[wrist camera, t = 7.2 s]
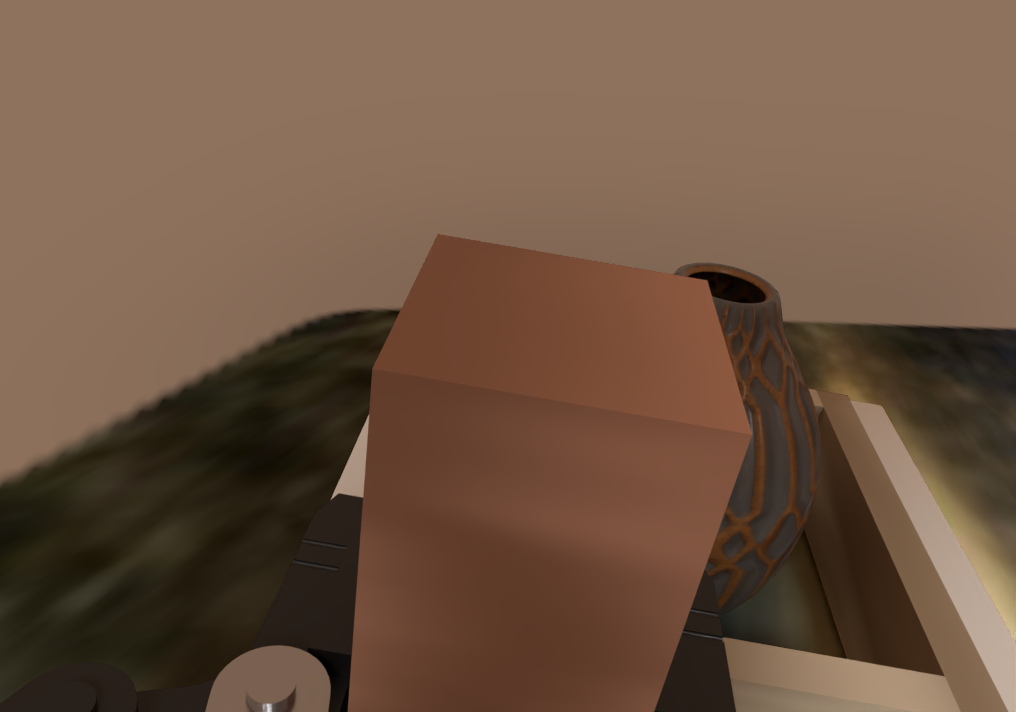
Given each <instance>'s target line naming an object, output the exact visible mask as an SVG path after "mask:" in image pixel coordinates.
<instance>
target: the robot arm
mask: <svg viewBox="0 0 1016 712" xmlns="http://www.w3.org/2000/svg"><path fill="white" fill-rule="evenodd" d="M362 507H363V497H357V496H352V495H346V494H340V493H338V494H337V495H336V496H335V497H334V498H332V499H331V500H330V501H329V502H328V503H326V504H325V505H324V506H323V507H321V508H320V509H319V510H318V511H317V512H315V514H314V516H313V518H312V520H311V523H310V525H309V527H308V529H307V531H306V533H305V536H304V538H303V542H302V543H301V544H300V546H299V548H298V551H297V553H296V555H295V557H294V560H293V564H291V566H290V568H289V570H288V572H287V574H286V576H285V578H284V581H283V583H282V585H281V587H280V589H279V591H278V594H277V596H276V598H275V600H274V602H273V604H272V606H271V609H270V611H269V613H268V615H267V617H266V619H265V621H264V624H263V626H262V628H261V630H260V632H259V634H258V636H257V639H256V641H255V643H254V644H253V646H252V648H251V650H250V651H249V652H247V653H244V654H242V655H240V656H239V657H237V658H236V659H234V660H233V661H232V662H230V663H229V664H228V665H227V666H226V667H225V668H224V669H223V670H222V671H221V672H220V674H219V675H218V677H216V678H214V679H211V680H209V681H206V682H203V683H199V684H196V685H191V686H185V687H178V688H169V689H160V690H150V691H141V692H136V690H135V687H134V684H133V683H132V681H131V680H130V678H129V677H128V676H127V675H126V674H125V673H123V672H122V671H120V670H119V669H117V668H115V667H112V666H109V665H106V664H101V663H76V664H71V665H67V666H62V667H59V668H57V669H54V670H51V671H49V672H47V673H45V674H43V675H41V676H39V677H37V678H36V679H34V680H33V681H31V682H30V683H28V684H27V685H25V686H24V687H23V688H21V689H20V690H19V691H17V692H16V693H14V694H13V695H12V696H10V697H9V698H8V699H6V700H5V701H3V702H2V703H1V704H0V712H348V701H349V687H350V673H351V659H352V645H353V632H354V618H355V604H356V590H357V576H358V563H359V549H360V535H361V521H362ZM654 712H736V708H735V702H734V696H733V690H732V684H731V678H730V673H729V667H728V661H727V655H726V649H725V643H724V642H723V631H722V625H721V620H720V618H719V608H718V602H717V596H716V590H715V584H714V583H713V581H712V580H711V578H710V577H709V575H708V574H707V572H706V571H705V569H704V572H703V575H702V578H701V581H700V584H699V586H698V589H697V592H696V595H695V598H694V600H693V603H692V606H691V609H690V612H689V615H688V617H687V620H686V623H685V626H684V629H683V632H682V634H681V637H680V640H679V643H678V646H677V648H676V651H675V654H674V657H673V660H672V663H671V665H670V668H669V671H668V674H667V677H666V679H665V682H664V685H663V688H662V691H661V694H660V696H659V699H658V702H657V705H656V708H655V710H654Z"/></svg>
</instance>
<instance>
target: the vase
mask: <svg viewBox="0 0 1016 712" xmlns="http://www.w3.org/2000/svg"><path fill="white" fill-rule="evenodd" d="M673 275H678V276H684V277H690V278H696V279H702V280H707V281H708V285H709V288H710V291H711V295H712V298H713V302H714V305H715V309H716V312H717V316H718V319H719V322H720V326H721V329H722V333H723V336H724V340H725V343H726V346H727V350H728V353H729V357H730V360H731V364H732V367H733V370H734V374H735V377H736V381H737V384H738V388H739V391H740V395H741V398H742V401H743V405H744V408H745V412H746V415H747V419H748V422H749V425H750V429H751V432H752V437H751V440H750V442H749V445H748V448H747V451H746V454H745V457H744V459H743V462H742V465H741V468H740V471H739V474H738V476H737V479H736V482H735V485H734V488H733V490H732V493H731V496H730V499H729V502H728V505H727V507H726V510H725V513H724V516H723V519H722V521H721V524H720V527H719V530H718V533H717V536H716V538H715V541H714V544H713V547H712V550H711V553H710V555H709V558H708V561H707V564H706V567H705V571H706V572H707V574H708V575H709V577H710V578H711V580H712V581H713V583H714V584H715V590H716V596H717V602H718V608H719V615H721V614H724V613H726V612H729V611H731V610H733V609H735V608H737V607H738V606H740V605H741V604H742V603H744V602H745V601H747V600H748V599H750V598H751V597H753V596H754V595H755V594H756V593H758V592H759V591H760V590H761V589H762V588H763V587H764V586H765V585H766V584H767V583H768V582H769V581H770V580H771V579H772V578H773V577H774V576H775V575H776V573H777V572H778V571H779V570H780V568H781V567H782V566H783V565H784V564H785V562H786V561H787V559H788V558H789V556H790V554H791V553H792V551H793V549H794V547H795V546H796V544H797V542H798V540H799V538H800V536H801V534H802V532H803V529H804V527H805V525H806V523H807V520H808V518H809V515H810V512H811V509H812V506H813V503H814V500H815V495H816V491H817V486H818V479H819V470H820V431H819V424H818V417H817V413H816V410H815V406H814V402H813V399H812V397H811V394H810V392H809V389H808V387H807V384H806V382H805V380H804V377H803V375H802V372H801V370H800V368H799V366H798V363H797V361H796V359H795V357H794V354H793V352H792V350H791V348H790V346H789V343H788V341H787V338H786V334H785V330H784V326H783V318H782V309H781V301H780V296H779V294H778V292H777V290H776V289H775V288H774V287H773V286H772V285H771V284H770V283H768V282H767V281H765V280H764V279H762V278H760V277H759V276H757V275H754V274H752V273H750V272H747V271H745V270H741V269H739V268H735V267H731V266H727V265H722V264H715V263H693V264H688V265H685V266H682V267H680V268H679V269H678V270H677V271H676V272H675V273H674V274H673Z"/></svg>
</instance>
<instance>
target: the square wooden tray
mask: <svg viewBox="0 0 1016 712" xmlns="http://www.w3.org/2000/svg"><path fill="white" fill-rule="evenodd" d="M809 392H810V394H811V397H812V399H813V402H814V406H815V410H816V413H817V417H818V424H819V431H820V470H819V479H818V486H817V491H816V495H815V500H814V503H813V506H812V509H811V512H810V515H809V518H808V520H807V523H806V525H805V527H804V530H805V533H806V536H807V539H808V542H809V545H810V548H811V551H812V554H813V557H814V560H815V563H816V566H817V569H818V572H819V575H820V578H821V582H822V585H823V588H824V591H825V594H826V597H827V600H828V603H829V606H830V609H831V612H832V615H833V618H834V621H835V624H836V627H837V630H838V633H839V636H840V639H841V642H842V645H843V648H844V651H845V654H846V657H847V659H843V658H838V657H832V656H826V655H821V654H815V653H810V652H804V651H798V650H793V649H787V648H782V647H776V646H770V645H765V644H759V643H753V642H748V641H742V640H737V639H731V638H725V637H723V642H724V643H725V649H726V655H727V661H728V667H729V673H730V678H731V684H732V690H733V696H734V702H735V708H736V712H1008V710H1007V708H1006V706H1005V704H1004V702H1003V700H1002V698H1001V696H1000V694H999V692H998V690H997V688H996V686H995V684H994V682H993V680H992V678H991V677H990V675H989V673H988V671H987V669H986V667H985V665H984V663H983V661H982V659H981V657H980V655H979V653H978V651H977V649H976V647H975V645H974V643H973V641H972V639H971V637H970V635H969V633H968V631H967V629H966V627H965V625H964V623H963V621H962V620H961V618H960V616H959V614H958V612H957V610H956V608H955V606H954V604H953V602H952V600H951V598H950V596H949V594H948V592H947V590H946V588H945V586H944V584H943V582H942V580H941V578H940V576H939V574H938V572H937V570H936V568H935V566H934V564H933V562H932V561H931V559H930V557H929V555H928V553H927V551H926V549H925V547H924V545H923V543H922V541H921V539H920V537H919V535H918V533H917V531H916V529H915V527H914V525H913V523H912V521H911V519H910V517H909V515H908V513H907V511H906V509H905V507H904V505H903V504H902V502H901V500H900V498H899V496H898V494H897V492H896V490H895V488H894V486H893V484H892V482H891V480H890V478H889V476H888V474H887V472H886V470H885V468H884V466H883V464H882V462H881V460H880V458H879V456H878V454H877V452H876V450H875V448H874V446H873V445H872V443H871V441H870V439H869V437H868V435H867V433H866V431H865V429H864V427H863V425H862V423H861V421H860V419H859V417H858V415H857V413H856V411H855V409H854V407H853V405H852V403H851V401H850V399H849V397H848V395H842V394H837V393H831V392H825V391H819V390H813V389H809ZM751 437H752V432H751V429H750V425H749V422H748V419H747V415H746V412H745V408H744V405H743V401H742V398H741V395H740V391H739V388H738V384H737V381H736V377H735V374H734V370H733V367H732V364H731V360H730V357H729V353H728V350H727V346H726V343H725V340H724V336H723V333H722V329H721V326H720V322H719V319H718V316H717V312H716V309H715V305H714V302H713V298H712V295H711V291H710V288H709V285H708V281H707V280H702V279H696V278H690V277H684V276H678V275H673V274H666V273H661V272H655V271H649V270H644V269H637V268H632V267H625V266H620V265H614V264H609V263H602V262H597V261H591V260H585V259H579V258H574V257H568V256H562V255H556V254H550V253H544V252H539V251H533V250H527V249H521V248H515V247H510V246H503V245H497V244H492V243H486V242H480V241H475V240H469V239H463V238H457V237H451V236H445V235H440V234H438V235H437V237H436V239H435V241H434V243H433V245H432V247H431V250H430V251H429V254H428V256H427V258H426V260H425V262H424V264H423V266H422V268H421V270H420V272H419V274H418V276H417V278H416V280H415V282H414V284H413V286H412V288H411V291H410V293H409V295H408V297H407V299H406V301H405V303H404V305H403V307H402V309H401V311H400V313H399V315H398V317H397V319H396V321H395V323H394V326H393V328H392V330H391V332H390V334H389V336H388V338H387V340H386V342H385V344H384V346H383V348H382V350H381V352H380V354H379V356H378V358H377V360H376V363H375V365H374V367H373V369H372V383H371V397H370V411H369V425H368V438H367V452H366V466H365V480H364V494H363V507H362V521H361V535H360V549H359V563H358V576H357V590H356V604H355V618H354V632H353V645H352V659H351V673H350V687H349V701H348V712H654V710H655V708H656V705H657V702H658V699H659V696H660V694H661V691H662V688H663V685H664V682H665V679H666V677H667V674H668V671H669V668H670V665H671V663H672V660H673V657H674V654H675V651H676V648H677V646H678V643H679V640H680V637H681V634H682V632H683V629H684V626H685V623H686V620H687V617H688V615H689V612H690V609H691V606H692V603H693V600H694V598H695V595H696V592H697V589H698V586H699V584H700V581H701V578H702V575H703V572H704V569H705V567H706V564H707V561H708V558H709V555H710V553H711V550H712V547H713V544H714V541H715V538H716V536H717V533H718V530H719V527H720V524H721V521H722V519H723V516H724V513H725V510H726V507H727V505H728V502H729V499H730V496H731V493H732V490H733V488H734V485H735V482H736V479H737V476H738V474H739V471H740V468H741V465H742V462H743V459H744V457H745V454H746V451H747V448H748V445H749V442H750V440H751Z"/></svg>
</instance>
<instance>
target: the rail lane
mask: <svg viewBox="0 0 1016 712" xmlns="http://www.w3.org/2000/svg"><path fill="white" fill-rule="evenodd" d="M850 401H851V403H852V405H853V407H854V409H855V411H856V413H857V415H858V417H859V419H860V421H861V423H862V425H863V427H864V429H865V431H866V433H867V435H868V437H869V439H870V441H871V443H872V445H873V446H874V448H875V450H876V452H877V454H878V456H879V458H880V460H881V462H882V464H883V466H884V468H885V470H886V472H887V474H888V476H889V478H890V480H891V482H892V484H893V486H894V488H895V490H896V492H897V494H898V496H899V498H900V500H901V502H902V504H903V505H904V507H905V509H906V511H907V513H908V515H909V517H910V519H911V521H912V523H913V525H914V527H915V529H916V531H917V533H918V535H919V537H920V539H921V541H922V543H923V545H924V547H925V549H926V551H927V553H928V555H929V557H930V559H931V561H932V562H933V564H934V566H935V568H936V570H937V572H938V574H939V576H940V578H941V580H942V582H943V584H944V586H945V588H946V590H947V592H948V594H949V596H950V598H951V600H952V602H953V604H954V606H955V608H956V610H957V612H958V614H959V616H960V618H961V620H962V621H963V623H964V625H965V627H966V629H967V631H968V633H969V635H970V637H971V639H972V641H973V643H974V645H975V647H976V649H977V651H978V653H979V655H980V657H981V659H982V661H983V663H984V665H985V667H986V669H987V671H988V673H989V675H990V677H991V678H992V680H993V682H994V684H995V686H996V688H997V690H998V692H999V694H1000V696H1001V698H1002V700H1003V702H1004V704H1005V706H1006V708H1007V710H1008V712H1016V642H1015V640H1014V638H1013V637H1012V635H1011V633H1010V631H1009V630H1008V628H1007V626H1006V624H1005V623H1004V621H1003V619H1002V617H1001V616H1000V614H999V612H998V610H997V608H996V607H995V605H994V603H993V601H992V600H991V598H990V596H989V594H988V593H987V591H986V589H985V587H984V586H983V584H982V582H981V580H980V578H979V577H978V575H977V573H976V571H975V570H974V568H973V566H972V564H971V563H970V561H969V559H968V557H967V556H966V554H965V552H964V550H963V548H962V547H961V545H960V543H959V541H958V540H957V538H956V536H955V534H954V533H953V531H952V529H951V527H950V525H949V524H948V522H947V520H946V518H945V517H944V515H943V513H942V511H941V510H940V508H939V506H938V504H937V503H936V501H935V499H934V497H933V495H932V494H931V492H930V490H929V488H928V487H927V485H926V483H925V481H924V480H923V478H922V476H921V474H920V473H919V471H918V469H917V467H916V465H915V464H914V462H913V460H912V458H911V457H910V455H909V453H908V451H907V450H906V448H905V446H904V444H903V443H902V441H901V439H900V437H899V435H898V434H897V432H896V430H895V428H894V427H893V425H892V423H891V421H890V420H889V418H888V416H887V414H886V412H885V411H884V409H883V407H882V406H881V405H875V404H869V403H863V402H858V401H852V400H850ZM368 425H369V415H368V418H367V420H366V422H365V424H364V427H363V429H362V431H361V433H360V436H359V438H358V440H357V442H356V444H355V447H354V449H353V451H352V453H351V456H350V458H349V460H348V462H347V464H346V467H345V469H344V471H343V473H342V476H341V478H340V480H339V482H338V484H337V487H336V489H335V491H334V493H333V496H332V498H334V497H335V496H336V495H337V494H338V493H340V494H346V495H352V496H357V497H363V494H364V480H365V466H366V452H367V438H368ZM332 498H331V499H332Z"/></svg>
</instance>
